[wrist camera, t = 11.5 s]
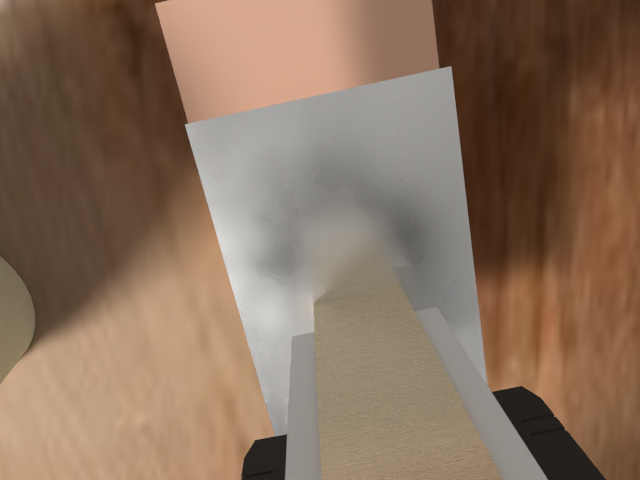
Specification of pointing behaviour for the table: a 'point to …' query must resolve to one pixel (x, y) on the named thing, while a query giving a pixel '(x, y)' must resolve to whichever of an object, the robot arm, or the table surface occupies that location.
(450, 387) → the beige post on base
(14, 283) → the reusable coffee cup
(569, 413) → the table surface
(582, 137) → the table surface
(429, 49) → the tile
